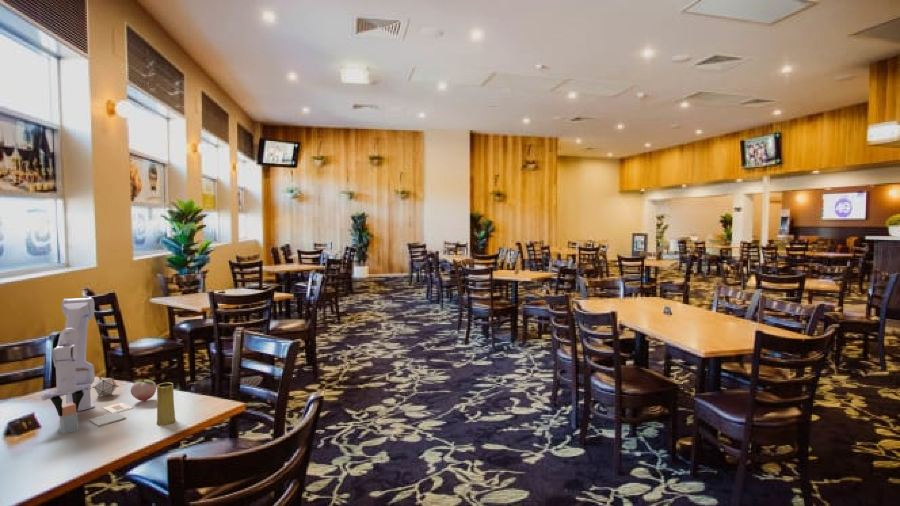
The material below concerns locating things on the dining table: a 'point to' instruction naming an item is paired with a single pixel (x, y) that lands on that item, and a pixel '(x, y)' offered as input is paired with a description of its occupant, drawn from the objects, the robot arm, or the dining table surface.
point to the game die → (105, 386)
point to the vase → (165, 404)
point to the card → (117, 407)
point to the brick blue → (69, 423)
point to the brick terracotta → (68, 409)
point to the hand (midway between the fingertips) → (67, 413)
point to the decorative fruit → (143, 389)
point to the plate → (107, 419)
